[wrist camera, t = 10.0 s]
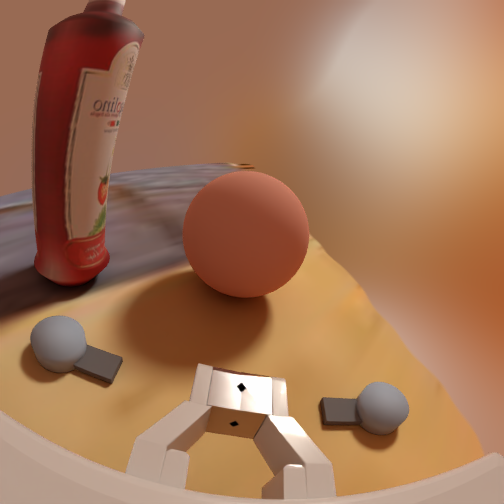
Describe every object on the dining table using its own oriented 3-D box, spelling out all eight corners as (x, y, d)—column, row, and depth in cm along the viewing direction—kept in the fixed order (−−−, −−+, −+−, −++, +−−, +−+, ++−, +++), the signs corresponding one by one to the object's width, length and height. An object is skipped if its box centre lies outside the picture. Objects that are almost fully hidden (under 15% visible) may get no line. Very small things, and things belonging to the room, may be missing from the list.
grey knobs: (25, 358, 11) (20, 344, 11) (53, 323, 15) (49, 309, 14) (404, 432, 13) (415, 422, 13) (390, 393, 16) (399, 382, 16)
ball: (195, 185, 27) (190, 286, 27) (176, 151, 17) (167, 304, 17) (295, 190, 28) (292, 290, 28) (326, 159, 18) (322, 309, 18)
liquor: (60, 244, 23) (112, -36, 11) (123, 259, 24) (188, -41, 12) (18, 283, 16) (78, -69, 5) (91, 307, 17) (172, -87, 6)
